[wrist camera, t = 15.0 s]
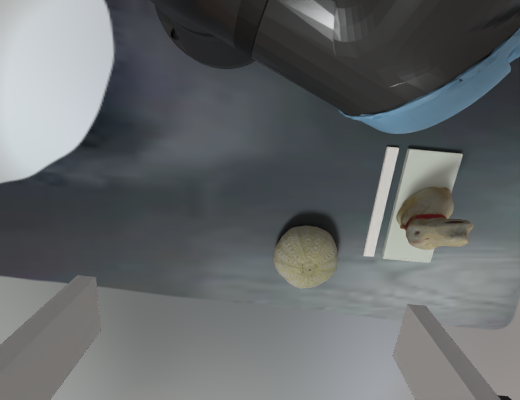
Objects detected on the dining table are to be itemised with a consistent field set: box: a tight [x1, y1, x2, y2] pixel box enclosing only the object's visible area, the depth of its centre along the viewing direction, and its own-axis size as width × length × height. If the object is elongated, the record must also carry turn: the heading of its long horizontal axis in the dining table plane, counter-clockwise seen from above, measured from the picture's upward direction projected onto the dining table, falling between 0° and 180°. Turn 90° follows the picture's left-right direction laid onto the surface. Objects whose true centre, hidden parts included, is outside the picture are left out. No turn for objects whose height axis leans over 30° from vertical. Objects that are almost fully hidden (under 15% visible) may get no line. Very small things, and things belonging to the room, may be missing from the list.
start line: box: [363, 147, 399, 257], centre depth 41 cm, size 16×2×1 cm, turn 175°
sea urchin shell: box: [273, 225, 338, 289], centre depth 42 cm, size 9×8×8 cm
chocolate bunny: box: [396, 187, 473, 250], centre depth 36 cm, size 6×8×10 cm
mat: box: [381, 149, 463, 263], centre depth 41 cm, size 16×7×1 cm, turn 175°
